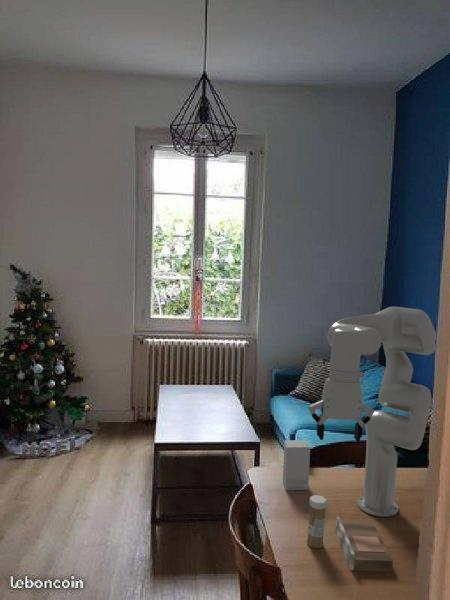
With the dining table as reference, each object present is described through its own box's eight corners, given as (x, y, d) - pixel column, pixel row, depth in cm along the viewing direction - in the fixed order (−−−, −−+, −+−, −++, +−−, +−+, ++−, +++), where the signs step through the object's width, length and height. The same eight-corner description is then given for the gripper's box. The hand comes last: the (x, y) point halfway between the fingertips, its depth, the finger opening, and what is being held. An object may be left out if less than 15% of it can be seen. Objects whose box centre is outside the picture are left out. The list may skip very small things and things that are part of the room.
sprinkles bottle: (305, 539, 146) (307, 494, 145) (320, 539, 147) (323, 494, 145) (309, 549, 142) (312, 502, 140) (325, 549, 142) (328, 502, 141)
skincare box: (305, 482, 182) (307, 439, 180) (308, 491, 175) (311, 447, 173) (281, 481, 181) (283, 439, 179) (284, 490, 175) (286, 446, 173)
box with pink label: (335, 531, 151) (336, 516, 151) (372, 532, 151) (373, 518, 151) (350, 570, 133) (351, 553, 133) (391, 571, 134) (393, 555, 133)
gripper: (372, 373, 139) (366, 435, 141) (308, 370, 138) (303, 432, 140) (381, 381, 131) (375, 445, 133) (313, 377, 131) (308, 442, 133)
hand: (338, 439), depth 137 cm, fingers open, 9 cm apart
